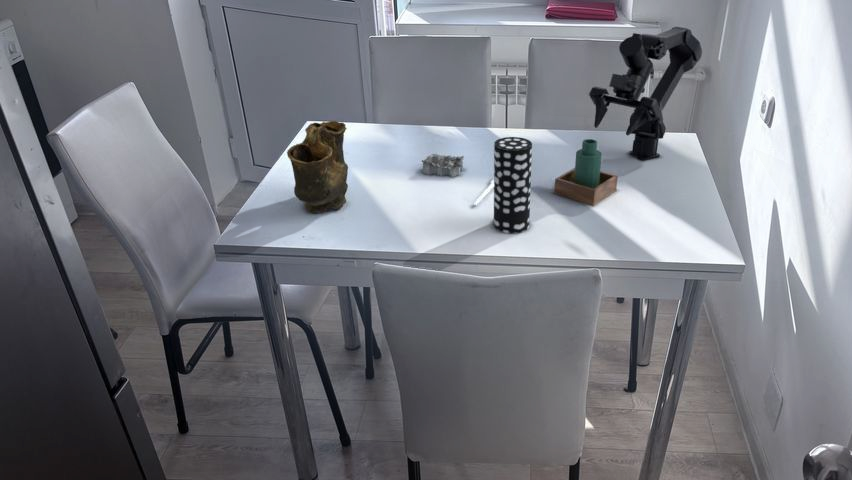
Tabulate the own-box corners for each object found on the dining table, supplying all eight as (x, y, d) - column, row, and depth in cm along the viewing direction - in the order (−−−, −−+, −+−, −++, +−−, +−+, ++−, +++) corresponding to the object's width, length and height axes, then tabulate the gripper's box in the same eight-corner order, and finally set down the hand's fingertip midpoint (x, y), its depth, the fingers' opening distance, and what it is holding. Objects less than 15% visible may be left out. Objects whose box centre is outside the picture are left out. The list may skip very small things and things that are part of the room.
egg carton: (420, 174, 189) (419, 160, 187) (429, 164, 195) (428, 150, 193) (458, 178, 187) (457, 163, 184) (465, 167, 193) (465, 153, 191)
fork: (468, 206, 172) (468, 199, 171) (496, 176, 188) (496, 170, 187) (480, 208, 171) (480, 201, 170) (507, 178, 187) (507, 171, 186)
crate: (578, 179, 187) (579, 165, 185) (616, 190, 181) (617, 175, 179) (554, 193, 179) (555, 178, 177) (593, 205, 173) (594, 190, 171)
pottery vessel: (317, 182, 183) (307, 108, 173) (358, 183, 183) (351, 109, 173) (288, 225, 162) (275, 143, 152) (335, 227, 162) (325, 145, 151)
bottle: (595, 184, 183) (599, 136, 176) (600, 194, 177) (605, 145, 171) (571, 185, 182) (574, 137, 175) (576, 195, 177) (579, 146, 170)
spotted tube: (533, 220, 166) (536, 139, 155) (523, 235, 159) (525, 152, 149) (500, 215, 168) (501, 135, 158) (488, 230, 161) (488, 147, 151)
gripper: (595, 54, 180) (569, 107, 178) (661, 66, 170) (635, 122, 169) (607, 79, 189) (583, 129, 188) (671, 91, 180) (646, 144, 178)
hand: (610, 130), depth 180 cm, fingers open, 9 cm apart
